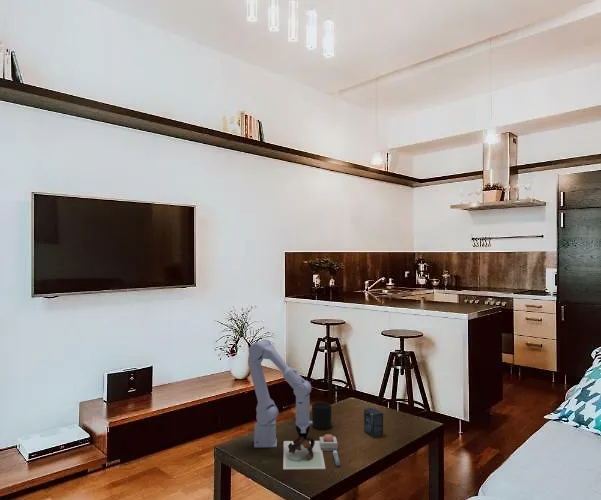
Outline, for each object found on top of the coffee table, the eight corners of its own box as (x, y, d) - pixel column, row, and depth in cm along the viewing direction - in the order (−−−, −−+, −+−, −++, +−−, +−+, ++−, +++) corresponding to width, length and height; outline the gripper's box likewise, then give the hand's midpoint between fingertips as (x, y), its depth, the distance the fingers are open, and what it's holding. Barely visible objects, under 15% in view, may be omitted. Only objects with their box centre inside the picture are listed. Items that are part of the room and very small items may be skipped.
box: (363, 431, 206) (363, 408, 206) (374, 429, 208) (374, 407, 209) (372, 437, 199) (372, 414, 199) (383, 436, 201) (383, 412, 201)
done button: (324, 445, 187) (324, 437, 187) (323, 441, 191) (323, 434, 191) (333, 445, 187) (333, 437, 187) (332, 441, 191) (332, 434, 191)
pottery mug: (305, 465, 173) (295, 445, 174) (291, 468, 179) (281, 449, 180) (324, 447, 181) (314, 429, 183) (310, 451, 188) (300, 433, 189)
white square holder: (320, 450, 185) (320, 443, 186) (319, 443, 192) (319, 436, 193) (337, 450, 186) (337, 443, 186) (335, 443, 193) (335, 436, 193)
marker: (335, 466, 171) (335, 461, 171) (332, 455, 181) (332, 450, 181) (340, 466, 171) (340, 461, 171) (337, 455, 181) (337, 450, 181)
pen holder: (335, 425, 214) (334, 404, 215) (325, 431, 207) (325, 409, 207) (318, 421, 219) (318, 400, 220) (308, 427, 212) (308, 406, 212)
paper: (283, 469, 168) (283, 468, 168) (283, 441, 194) (283, 441, 194) (325, 469, 169) (325, 468, 169) (320, 441, 195) (320, 440, 195)
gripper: (313, 417, 179) (313, 451, 179) (311, 405, 193) (311, 437, 193) (295, 417, 179) (295, 451, 178) (295, 405, 193) (295, 437, 193)
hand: (302, 444), depth 186 cm, fingers closed
